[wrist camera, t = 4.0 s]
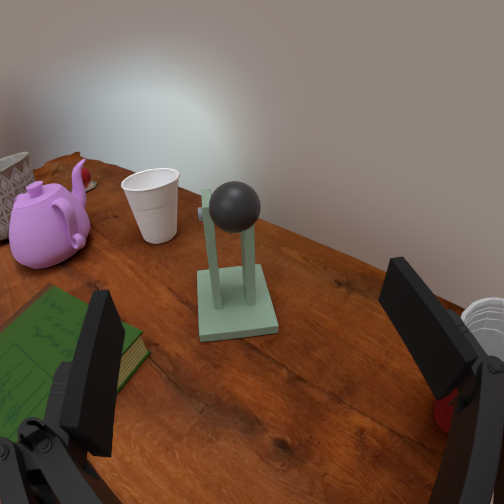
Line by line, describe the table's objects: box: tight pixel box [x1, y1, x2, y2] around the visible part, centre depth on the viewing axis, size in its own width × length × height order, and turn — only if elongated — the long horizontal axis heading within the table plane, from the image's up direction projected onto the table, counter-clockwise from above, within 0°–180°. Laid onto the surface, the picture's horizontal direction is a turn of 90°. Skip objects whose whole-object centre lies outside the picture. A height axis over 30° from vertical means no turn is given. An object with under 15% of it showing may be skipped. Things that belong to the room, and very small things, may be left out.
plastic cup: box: [433, 297, 504, 434], centre depth 21 cm, size 11×11×12 cm
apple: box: [71, 168, 97, 193], centre depth 75 cm, size 8×8×6 cm
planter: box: [0, 152, 36, 241], centre depth 56 cm, size 19×19×16 cm
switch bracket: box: [197, 189, 279, 342], centre depth 36 cm, size 12×9×15 cm
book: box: [0, 283, 151, 442], centre depth 26 cm, size 25×19×4 cm
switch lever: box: [209, 181, 260, 233], centre depth 27 cm, size 14×4×4 cm, turn 9°
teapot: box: [9, 159, 90, 269], centre depth 49 cm, size 22×22×14 cm
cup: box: [121, 168, 180, 244], centre depth 51 cm, size 10×10×11 cm
